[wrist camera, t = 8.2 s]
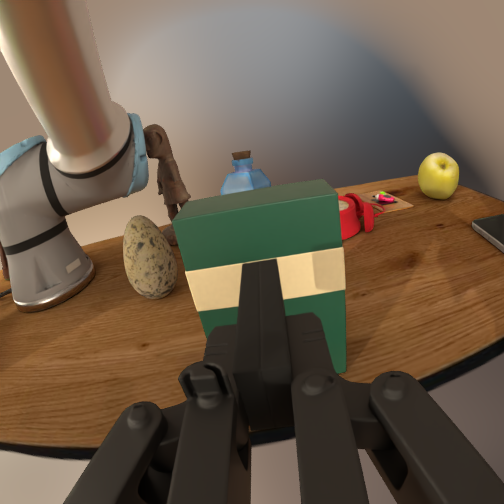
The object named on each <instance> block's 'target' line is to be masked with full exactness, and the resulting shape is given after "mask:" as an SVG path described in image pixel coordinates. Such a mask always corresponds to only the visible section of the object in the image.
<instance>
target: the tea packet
mask: <svg viewBox="0 0 504 504" xmlns="http://www.w3.org/2000/svg"><path fill="white" fill-rule="evenodd" d="M172 223H173V227H174V231H175V234H176V238H177V242H178V245H179V249H180V252H181V256H182V260H183V263H184V267H185V270H186V271H185V274H186V277H187V280H188V284H189V287H190V290H191V294H192V297H193V300H194V303H195V307H196V310H197V311H198V313H199V316H200V319H201V322H202V326H203V329H204V332H205V335H206V338H208V335H209V334H210V333H211V331H212V330H213V329H214V327H216V326H224V325H232V324H237V315H238V304H239V293H240V282H241V272H242V264H244V263H250V262H256V261H263V260H269V259H275V258H277V263H278V269H279V275H280V281H281V288H282V294H283V300H284V307H285V314H286V316H290V315H296V314H302V313H308V312H313V313H314V314H315V315H316V316H318V317H319V318H320V319H321V322H322V326H323V330H324V333H325V337H326V341H327V344H328V348H329V352H330V355H331V359H332V363H333V367H334V369H335V371H336V373H337V374H338V373H343V372H346V305H345V289H346V282H345V263H344V248H343V246H342V233H341V221H340V210H339V200H338V193H337V192H336V191H335V190H334V189H333V188H332V187H331V186H330V185H329V184H328V183H327V182H326V181H325V180H324V179H318V180H312V181H305V182H298V183H291V184H285V185H278V186H272V187H266V188H260V189H254V190H248V191H242V192H236V193H231V194H225V195H220V196H215V197H209V198H204V199H199V200H194V201H188V202H186V203H185V205H184V206H183V207H182V209H181V210H180V211H179V212H178V214H177V215H176V216H175V218H174V219H173V220H172Z"/></svg>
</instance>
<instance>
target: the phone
mask: <svg viewBox="0 0 504 504" xmlns="http://www.w3.org/2000/svg"><path fill="white" fill-rule="evenodd" d="M472 228H473V229H474V230H475V231H477V232H478V233H479V234H480V235H482V236H483V237H484V238H486V239H487V240H488V241H489V242H491V243H492V244H493V245H495V246H496V247H497V248H498V249H500V250H501V251H502V252H503V253H504V214H501V215H496V216H491V217H487V218H482V219H477V220H474V221H473V222H472Z"/></svg>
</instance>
